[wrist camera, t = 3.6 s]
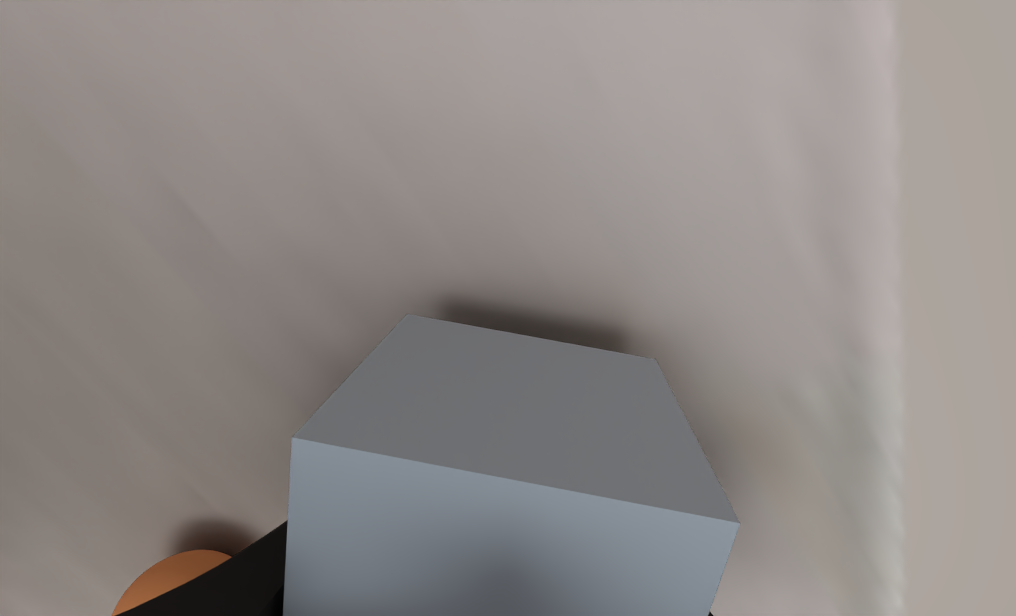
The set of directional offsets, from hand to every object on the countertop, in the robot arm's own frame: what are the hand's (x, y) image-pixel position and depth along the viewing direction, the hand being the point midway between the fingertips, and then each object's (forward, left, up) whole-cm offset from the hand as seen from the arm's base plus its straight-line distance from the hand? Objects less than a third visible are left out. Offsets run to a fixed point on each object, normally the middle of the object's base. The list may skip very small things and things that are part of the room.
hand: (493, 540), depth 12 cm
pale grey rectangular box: (0, 0, -2) cm, 2 cm away
